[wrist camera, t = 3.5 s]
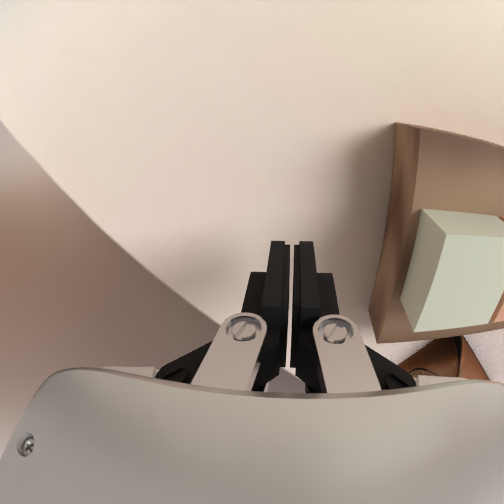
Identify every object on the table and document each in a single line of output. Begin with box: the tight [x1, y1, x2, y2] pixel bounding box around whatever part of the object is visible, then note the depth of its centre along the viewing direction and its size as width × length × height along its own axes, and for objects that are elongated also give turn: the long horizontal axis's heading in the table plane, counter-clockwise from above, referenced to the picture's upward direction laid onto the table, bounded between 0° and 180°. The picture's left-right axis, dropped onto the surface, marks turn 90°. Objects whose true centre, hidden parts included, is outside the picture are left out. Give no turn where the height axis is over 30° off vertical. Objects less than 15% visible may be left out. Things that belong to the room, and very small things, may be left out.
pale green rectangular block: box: [400, 209, 504, 332], centre depth 10 cm, size 5×5×2 cm
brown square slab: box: [369, 122, 504, 344], centre depth 12 cm, size 12×12×3 cm
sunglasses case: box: [397, 335, 490, 380], centre depth 20 cm, size 18×7×7 cm
